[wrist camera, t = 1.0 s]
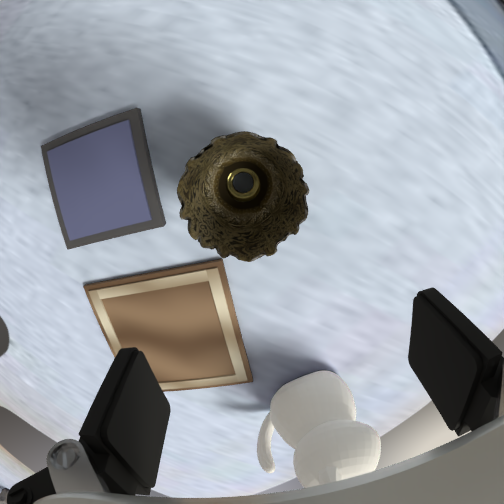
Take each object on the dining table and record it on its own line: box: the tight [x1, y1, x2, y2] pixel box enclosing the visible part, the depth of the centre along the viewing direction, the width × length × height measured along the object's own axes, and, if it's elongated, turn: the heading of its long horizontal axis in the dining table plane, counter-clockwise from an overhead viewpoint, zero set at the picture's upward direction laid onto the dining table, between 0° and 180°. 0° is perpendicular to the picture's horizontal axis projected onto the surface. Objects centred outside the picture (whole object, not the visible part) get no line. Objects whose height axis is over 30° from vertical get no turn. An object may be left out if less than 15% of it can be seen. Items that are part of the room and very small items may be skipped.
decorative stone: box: [0, 489, 9, 504], centre depth 52 cm, size 15×7×10 cm
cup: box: [177, 131, 309, 262], centre depth 21 cm, size 8×7×8 cm
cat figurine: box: [257, 370, 381, 488], centre depth 25 cm, size 9×12×15 cm
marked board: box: [84, 259, 253, 392], centre depth 29 cm, size 14×14×1 cm
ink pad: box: [41, 108, 166, 249], centre depth 23 cm, size 10×10×1 cm
